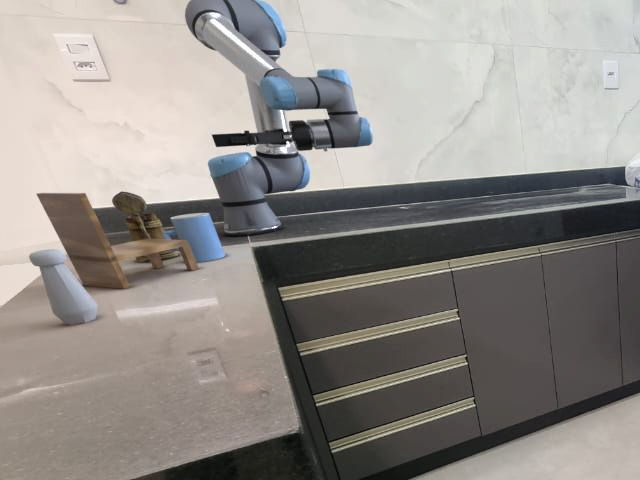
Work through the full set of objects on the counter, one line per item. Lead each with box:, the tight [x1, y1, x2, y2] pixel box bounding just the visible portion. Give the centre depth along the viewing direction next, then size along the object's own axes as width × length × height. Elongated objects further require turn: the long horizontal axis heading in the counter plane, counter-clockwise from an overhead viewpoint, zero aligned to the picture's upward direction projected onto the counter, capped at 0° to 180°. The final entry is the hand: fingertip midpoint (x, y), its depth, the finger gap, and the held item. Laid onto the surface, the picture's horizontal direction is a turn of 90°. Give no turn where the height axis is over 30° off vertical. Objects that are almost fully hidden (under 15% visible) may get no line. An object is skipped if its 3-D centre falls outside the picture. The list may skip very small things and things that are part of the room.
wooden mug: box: [111, 191, 179, 263], centre depth 136 cm, size 9×14×18 cm, turn 35°
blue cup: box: [163, 212, 226, 263], centre depth 135 cm, size 11×8×11 cm
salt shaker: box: [28, 248, 99, 326], centre depth 94 cm, size 6×6×13 cm
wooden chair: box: [36, 192, 200, 290], centre depth 120 cm, size 16×14×20 cm
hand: (213, 140), depth 132 cm, fingers open, 13 cm apart
